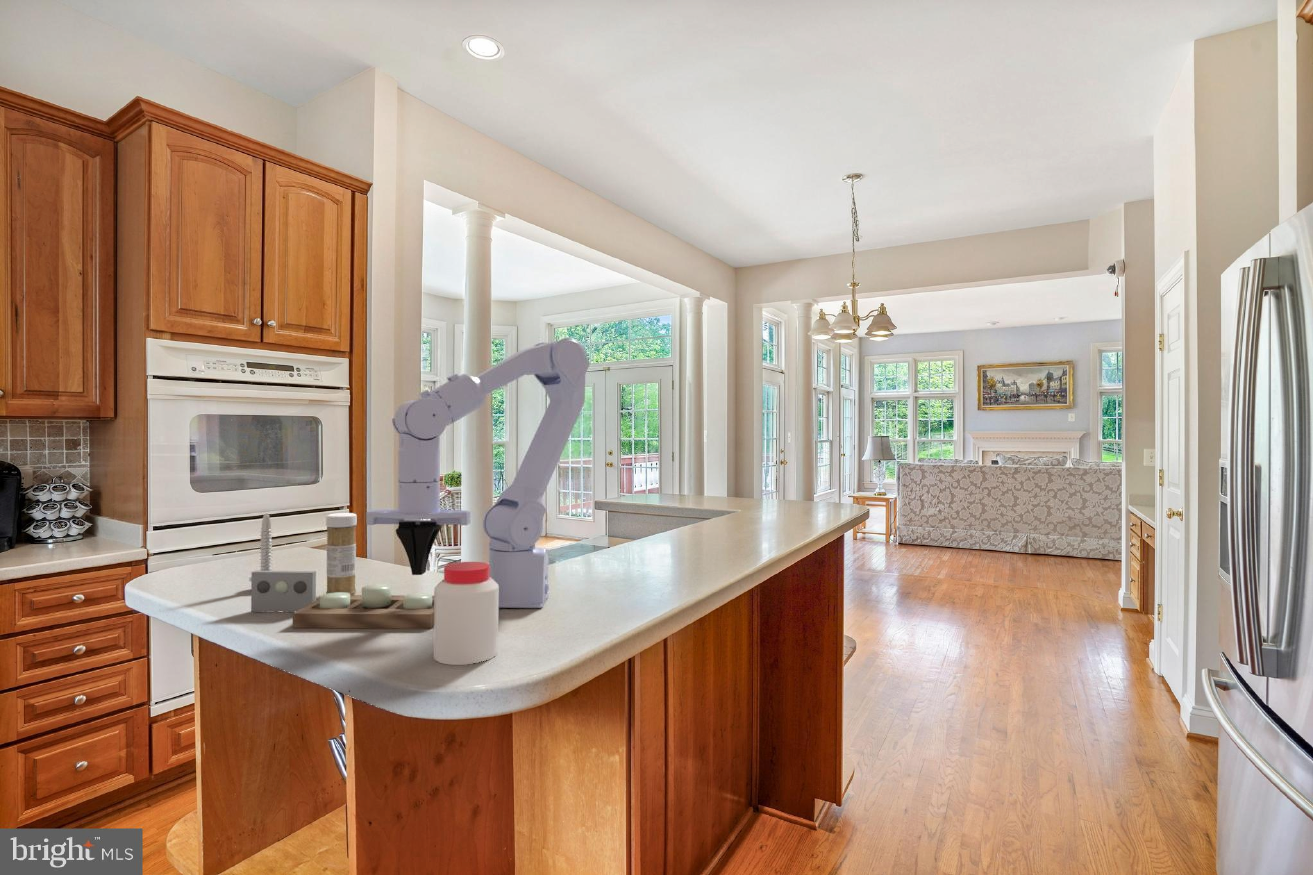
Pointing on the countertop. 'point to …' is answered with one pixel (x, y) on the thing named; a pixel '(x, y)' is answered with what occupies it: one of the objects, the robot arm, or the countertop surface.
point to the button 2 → (417, 601)
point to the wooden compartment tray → (364, 616)
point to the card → (282, 590)
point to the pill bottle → (466, 614)
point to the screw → (265, 545)
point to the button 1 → (335, 600)
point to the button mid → (376, 595)
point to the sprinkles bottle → (341, 552)
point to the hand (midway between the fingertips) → (418, 573)
